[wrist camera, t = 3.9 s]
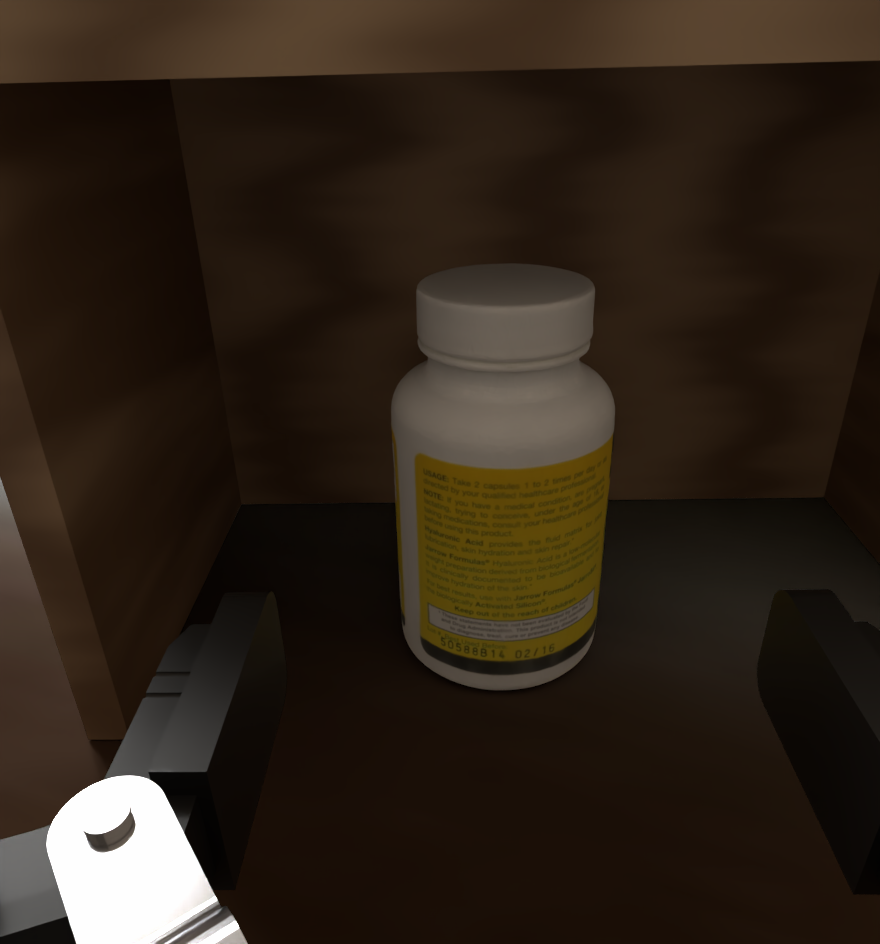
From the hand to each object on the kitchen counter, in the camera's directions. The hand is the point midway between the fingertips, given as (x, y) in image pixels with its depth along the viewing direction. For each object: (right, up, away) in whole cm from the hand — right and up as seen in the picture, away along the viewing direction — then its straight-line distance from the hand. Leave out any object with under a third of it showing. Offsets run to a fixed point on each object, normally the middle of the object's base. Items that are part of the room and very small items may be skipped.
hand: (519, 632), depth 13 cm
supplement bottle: (0, -2, +9) cm, 10 cm away
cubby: (+2, -1, +11) cm, 11 cm away
